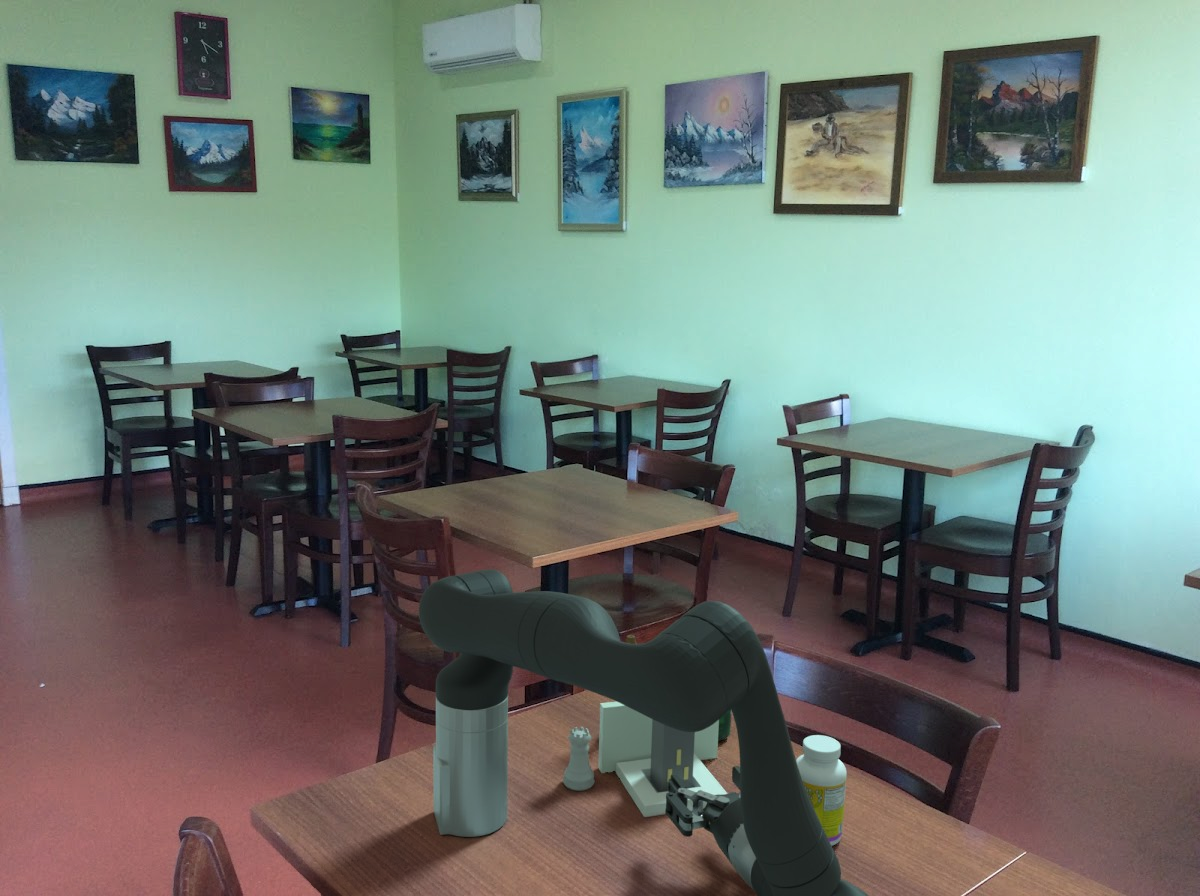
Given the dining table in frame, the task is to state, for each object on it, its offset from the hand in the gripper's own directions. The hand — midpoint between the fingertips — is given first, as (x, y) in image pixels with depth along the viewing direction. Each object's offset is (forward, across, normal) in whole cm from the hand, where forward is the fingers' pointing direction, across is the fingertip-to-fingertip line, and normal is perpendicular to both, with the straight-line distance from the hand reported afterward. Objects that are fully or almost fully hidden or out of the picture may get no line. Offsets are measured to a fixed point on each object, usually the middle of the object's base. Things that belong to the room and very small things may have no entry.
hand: (703, 776), depth 127 cm
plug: (+11, 0, +7) cm, 13 cm away
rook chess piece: (+16, +12, +8) cm, 21 cm away
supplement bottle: (-5, -14, +8) cm, 17 cm away
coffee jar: (+26, -12, +8) cm, 30 cm away
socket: (+12, -1, +8) cm, 14 cm away
